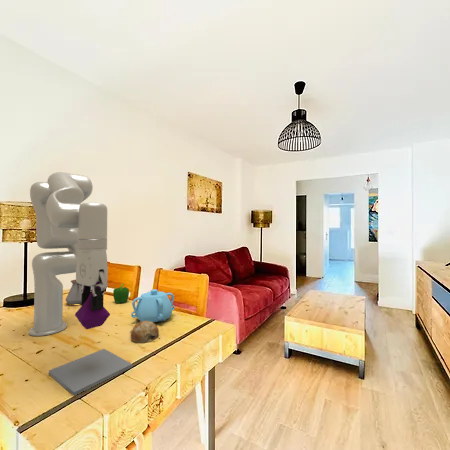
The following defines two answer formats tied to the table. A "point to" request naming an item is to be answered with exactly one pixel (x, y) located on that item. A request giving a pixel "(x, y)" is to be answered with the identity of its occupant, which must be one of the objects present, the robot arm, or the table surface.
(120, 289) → the bell pepper
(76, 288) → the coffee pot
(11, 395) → the table surface
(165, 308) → the decorative pot
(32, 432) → the table surface
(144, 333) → the bread roll
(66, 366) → the slate tile
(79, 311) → the perfume bottle
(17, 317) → the table surface
